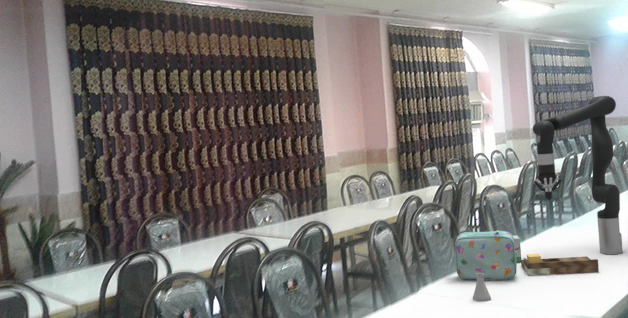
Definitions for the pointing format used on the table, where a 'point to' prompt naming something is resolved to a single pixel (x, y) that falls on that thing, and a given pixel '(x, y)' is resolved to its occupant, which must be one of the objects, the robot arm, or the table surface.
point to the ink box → (517, 248)
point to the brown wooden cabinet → (561, 266)
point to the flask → (481, 289)
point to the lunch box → (486, 255)
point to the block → (533, 258)
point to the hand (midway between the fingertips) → (548, 199)
